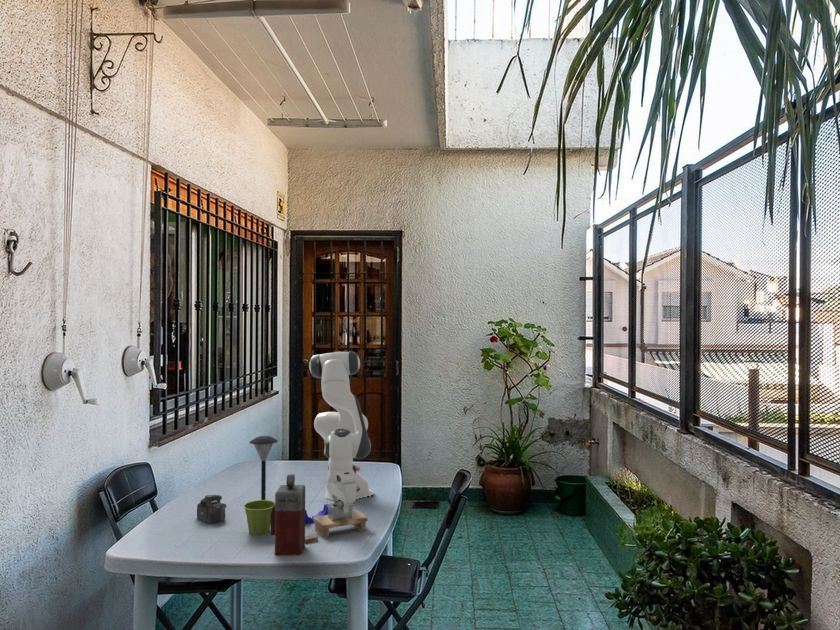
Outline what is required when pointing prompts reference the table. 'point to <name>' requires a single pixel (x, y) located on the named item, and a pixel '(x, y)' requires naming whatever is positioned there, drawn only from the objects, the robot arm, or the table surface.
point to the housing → (338, 511)
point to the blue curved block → (321, 513)
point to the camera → (211, 509)
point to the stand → (339, 523)
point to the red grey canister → (289, 518)
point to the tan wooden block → (311, 538)
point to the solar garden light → (263, 457)
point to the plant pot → (259, 516)
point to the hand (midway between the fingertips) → (340, 508)
